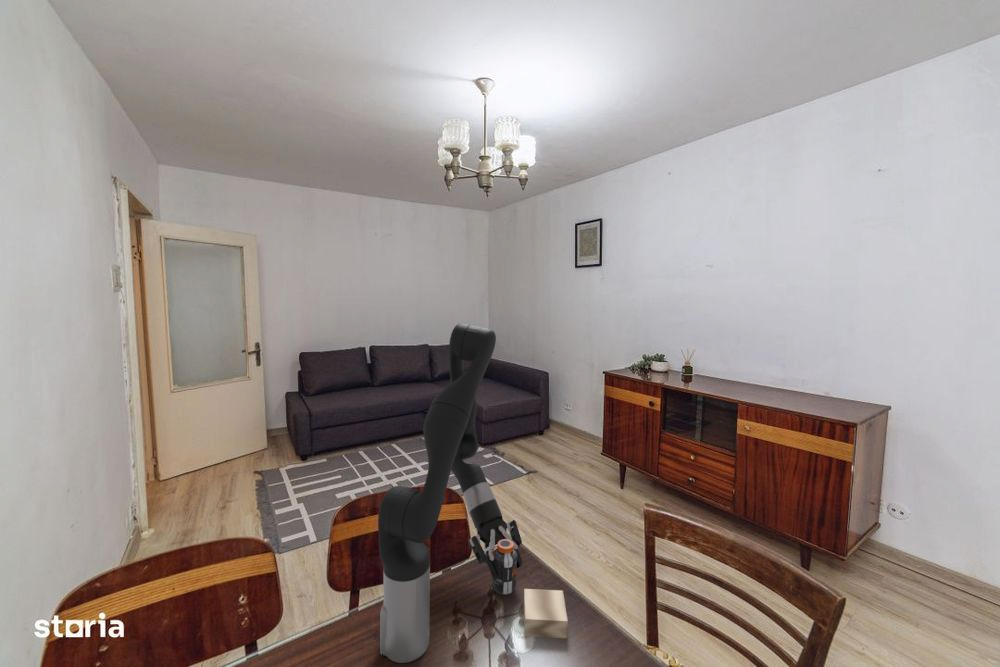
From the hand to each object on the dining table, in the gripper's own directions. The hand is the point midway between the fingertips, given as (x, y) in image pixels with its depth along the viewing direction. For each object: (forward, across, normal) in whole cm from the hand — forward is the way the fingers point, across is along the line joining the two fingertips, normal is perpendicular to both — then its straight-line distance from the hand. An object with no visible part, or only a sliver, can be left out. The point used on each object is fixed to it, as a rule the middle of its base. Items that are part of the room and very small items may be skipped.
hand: (509, 572), depth 100 cm
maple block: (+12, +1, -4) cm, 13 cm away
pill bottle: (+2, 0, +5) cm, 5 cm away
